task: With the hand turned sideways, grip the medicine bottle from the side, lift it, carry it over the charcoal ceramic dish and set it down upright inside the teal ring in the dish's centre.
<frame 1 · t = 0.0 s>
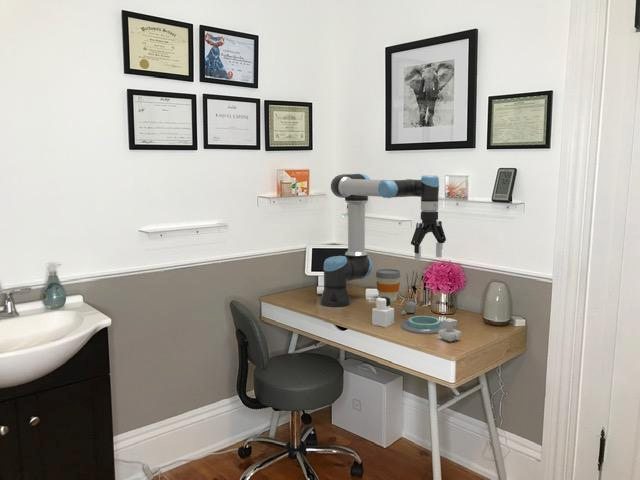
hand: (428, 259, 238), 28 cm above the table, tool pointing down, fingers open, 13 cm apart
reed diffuser: (411, 314, 253), on the table
medicine bottle: (383, 324, 237), on the table
stamp: (449, 340, 215), on the table
ring dish: (424, 326, 232), on the table
reusable coffee cup: (387, 299, 280), on the table
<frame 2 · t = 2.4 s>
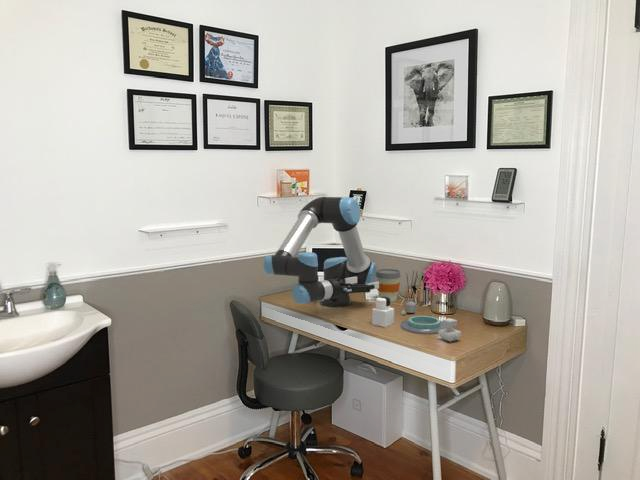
hand: (367, 282, 228), 20 cm above the table, tool horizontal, fingers open, 13 cm apart
nothing on the table moved.
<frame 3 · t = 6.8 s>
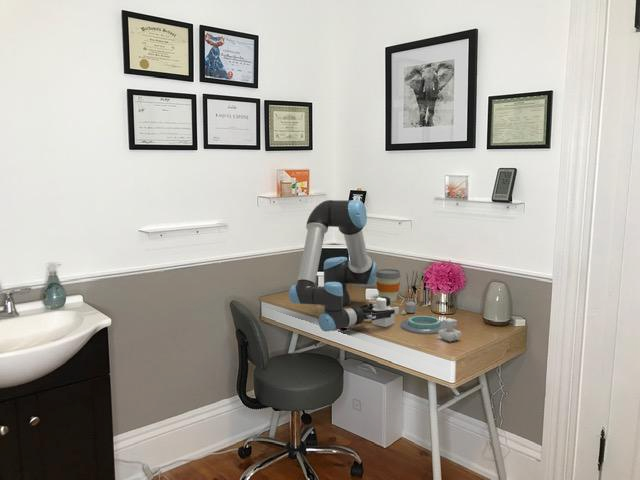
hand: (390, 307, 239), 7 cm above the table, tool horizontal, fingers closed on medicine bottle, 8 cm apart
medicine bottle: (383, 324, 237), on the table, touching gripper
everything else where it was.
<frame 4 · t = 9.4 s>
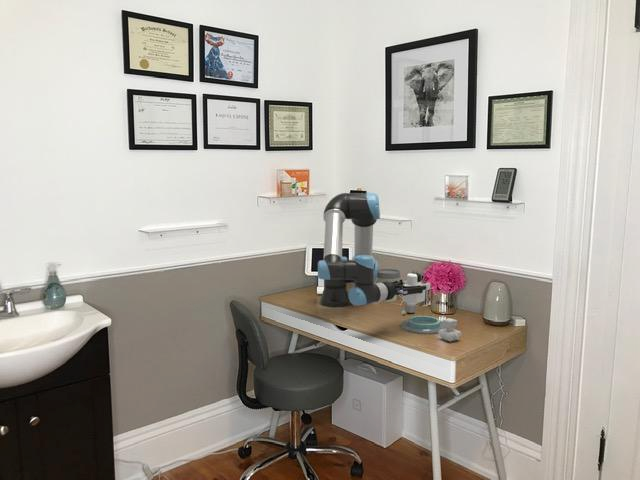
hand: (421, 284, 232), 18 cm above the table, tool horizontal, fingers closed on medicine bottle, 8 cm apart
medicine bottle: (413, 301, 231), point 11 cm above the table, touching gripper
everything else where it was.
when the fingers open (10 cm above the table, at t = 12.2 s): medicine bottle drops 2 cm, resting on ring dish.
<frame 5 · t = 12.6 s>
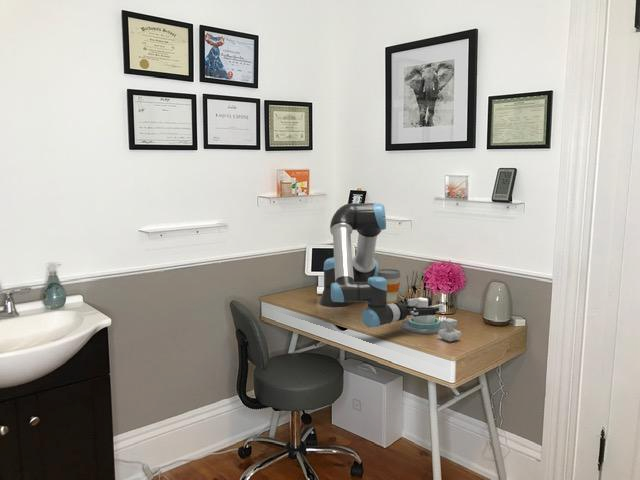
hand: (429, 304, 233), 10 cm above the table, tool horizontal, fingers open, 13 cm apart
medicine bottle: (423, 325, 232), point 1 cm above the table, touching ring dish
everything else where it was.
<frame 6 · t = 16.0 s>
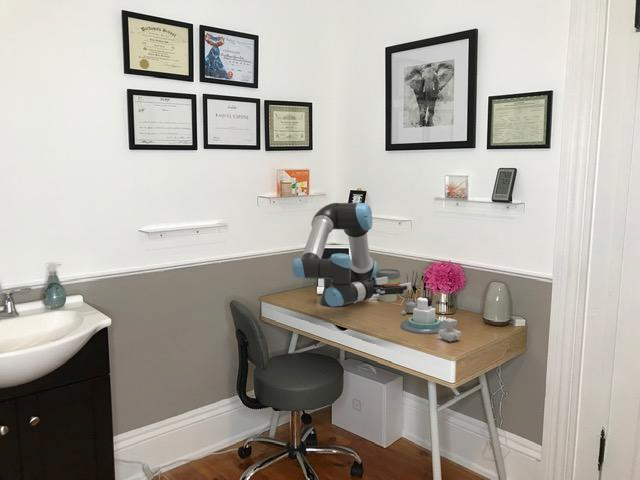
hand: (398, 282, 223), 21 cm above the table, tool horizontal, fingers open, 13 cm apart
nothing on the table moved.
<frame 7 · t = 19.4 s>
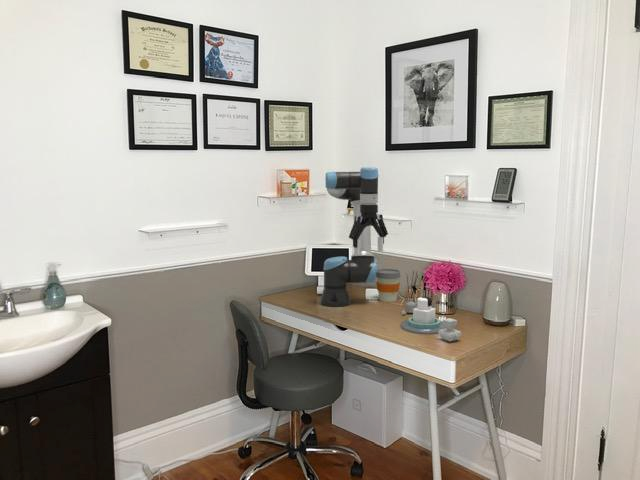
hand: (368, 253, 231), 32 cm above the table, tool pointing down, fingers open, 13 cm apart
nothing on the table moved.
at the end: medicine bottle 0.1 cm off-centre on the ring dish, point 0.8 cm above the ring dish's base; medicine bottle tilted 0°; the gripper is holding nothing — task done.
